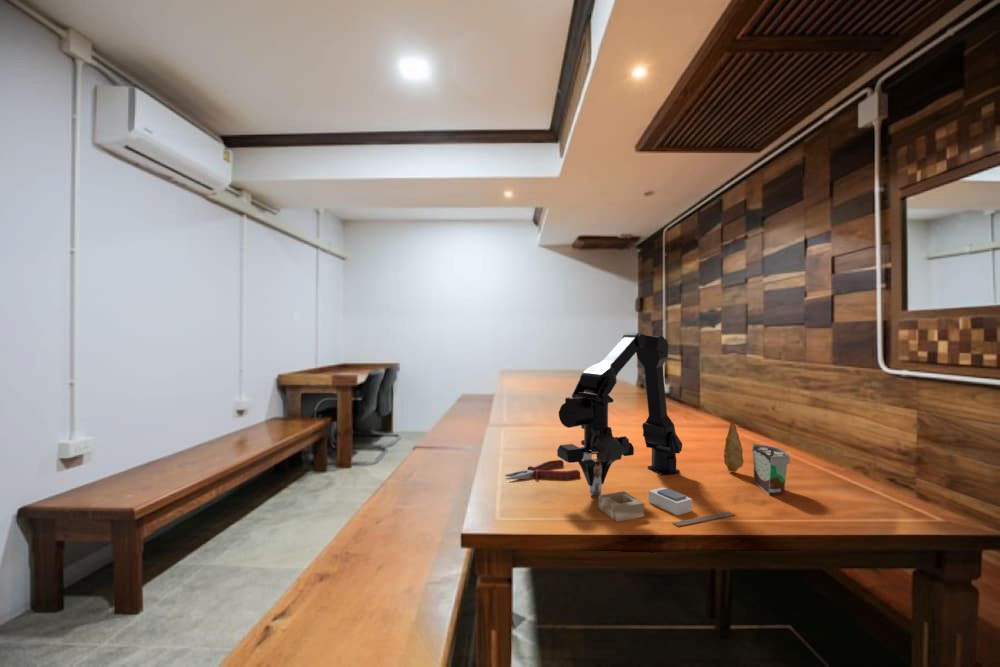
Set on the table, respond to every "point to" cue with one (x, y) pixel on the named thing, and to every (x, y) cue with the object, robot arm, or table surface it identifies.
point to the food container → (770, 468)
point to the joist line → (703, 519)
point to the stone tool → (733, 449)
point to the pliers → (545, 472)
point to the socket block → (621, 506)
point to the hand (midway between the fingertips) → (595, 484)
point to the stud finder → (670, 500)
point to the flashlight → (597, 477)
